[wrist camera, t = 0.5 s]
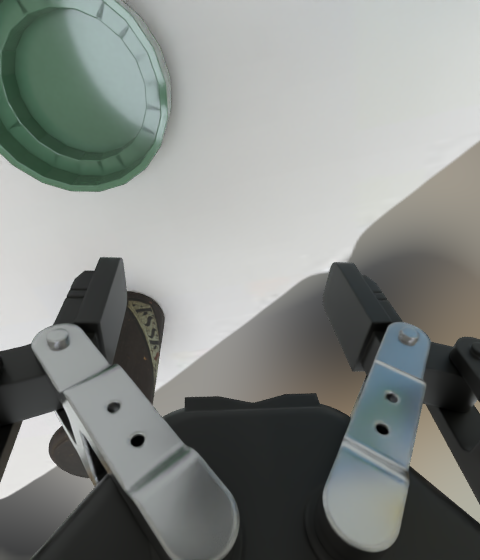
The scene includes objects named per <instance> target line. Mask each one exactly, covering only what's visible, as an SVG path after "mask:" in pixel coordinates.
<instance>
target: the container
mask: <svg viewBox="0 0 480 560" xmlns="http://www.w3.org/2000/svg"><path fill="white" fill-rule="evenodd" d="M163 328H164V314H163V312H162V310H161V308H160V307H159V305H158V304H157V303H156V302H154V301H153V300H152V299H150V298H149V297H147V296H144V295H142V294H138V293H133V292H127V306H126V311H125V315H124V319H123V323H122V327H121V331H120V335H119V339H118V344H117V348H116V352H115V356H114V360H113V364H115V363H117V364H118V365H120V366H121V367H122V368H123V370H124V371H125V372H126V373H127V375H128V376H129V377H130V378H131V379H132V381H133V382H134V383H135V384H136V386H137V387H138V388H139V389H140V390H141V392H142V393H143V394H144V395H145V397H146V398H147V399H148V400H149V402H150V403H151V404H152V405H153V398H154V391H155V385H156V377H157V370H158V363H159V356H160V349H161V342H162V336H163ZM113 364H112V365H113ZM49 454H50V457H51V459H52V460H53V461H54V463H55V464H56V465H57V466H58V467H60V468H61V469H62V470H64V471H66V472H68V473H70V474H73V475H76V476H80V477H85V478H89V476H88V474H87V472H86V470H85V467H84V465H83V463H82V460H81V458H80V456H79V454H78V452H77V450H76V449H75V447H74V445H73V444H72V442H71V440H70V438H69V437H68V435H67V433H66V431H65V430H64V428H63V426H61V427H60V428H59V429H58V430H57V431H56V432H55V434H54V435H53V437H52V438H51V440H50V443H49Z"/></svg>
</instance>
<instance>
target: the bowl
mask: <svg viewBox="0 0 480 560" xmlns="http://www.w3.org/2000/svg"><path fill="white" fill-rule="evenodd" d="M171 106H172V104H171V83H170V75H169V72H168V69H167V66H166V63H165V60H164V57H163V54H162V51H161V48H160V46H159V44H158V43H157V41H156V40H155V38H154V36H153V35H152V33H151V32H150V30H149V29H148V27H147V26H146V24H145V23H144V21H143V20H142V18H141V17H140V16H139V15H138V14H137V13H136V12H134V11H133V10H132V9H131V8H130V7H129V6H128V5H127V4H125V3H124V2H123V1H122V0H0V154H1V155H2V156H4V157H5V158H6V159H7V160H8V161H9V162H10V163H11V164H12V165H14V166H15V167H16V168H18V169H20V170H22V171H23V172H25V173H27V174H28V175H30V176H32V177H33V178H35V179H37V180H39V181H40V182H42V183H45V184H48V185H52V186H55V187H58V188H62V189H65V190H69V191H87V192H99V191H104V190H107V189H110V188H114V187H117V186H120V185H124V184H126V183H127V182H128V181H130V180H131V179H133V178H134V177H135V176H137V175H138V174H139V173H141V172H142V171H143V170H145V169H146V168H147V166H148V165H149V163H150V162H151V160H152V159H153V157H154V156H155V154H156V153H157V151H158V150H159V148H160V146H161V144H162V141H163V137H164V134H165V130H166V127H167V123H168V119H169V115H170V111H171Z"/></svg>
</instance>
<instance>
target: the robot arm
mask: <svg viewBox="0 0 480 560" xmlns="http://www.w3.org/2000/svg"><path fill="white" fill-rule="evenodd" d="M126 306H127V289H126V281H125V272H124V264H123V259H122V258H108V257H101V258H100V259H99V261H98V264H97V266H96V268H95V271H84V272H83V273H82V274H80V275H79V276H78V277H77V278H75V280H74V282H73V284H72V286H71V288H70V290H69V293H68V295H67V298H66V299H65V301H64V303H63V305H62V307H61V310H60V312H59V314H58V316H57V318H56V320H55V322H54V324H53V326H50V327H47V328H45V329H44V330H42V331H40V332H39V333H38V334H37V335H36V336H35V337H34V339H33V341H32V343H31V344H29V345H26V346H22V347H18V348H13V349H9V350H4V351H0V482H1V479H2V476H3V474H4V471H5V468H6V465H7V462H8V460H9V457H10V454H11V451H12V449H13V446H14V443H15V440H16V438H17V435H18V432H19V429H20V427H21V424H22V421H23V420H25V419H29V418H32V417H35V416H39V415H42V414H45V413H49V412H52V411H54V412H55V414H56V416H57V417H58V419H59V421H60V423H61V424H62V426H63V428H64V430H65V431H66V433H67V435H68V437H69V438H70V440H71V442H72V444H73V445H74V447H75V449H76V450H77V452H78V454H79V456H80V458H81V460H82V463H83V465H84V467H85V470H86V472H87V474H88V476H89V478H90V479H91V481H92V483H93V485H94V487H95V488H94V489H93V490H92V491H91V492H90V493H89V494H88V496H87V497H86V498H85V499H84V500H83V501H82V502H81V503H80V504H79V505H78V507H77V508H76V509H75V510H74V511H73V512H72V513H71V514H70V515H69V517H68V518H67V519H66V520H65V521H64V522H63V523H62V525H61V526H60V527H59V528H58V529H57V530H56V531H55V532H54V533H53V535H52V536H51V537H50V538H49V539H48V540H47V541H46V542H45V543H44V544H43V546H42V547H41V548H40V549H39V550H38V551H37V552H36V553H35V554H34V556H33V557H32V558H31V559H30V560H480V524H479V523H478V522H477V521H476V520H475V519H473V518H472V517H471V516H470V515H469V514H467V513H466V512H465V511H464V510H463V509H461V508H460V507H459V506H458V505H456V504H455V503H454V502H453V501H452V500H450V499H449V498H448V497H447V496H446V495H444V494H443V493H442V492H441V491H439V490H438V489H437V488H436V487H435V486H433V485H432V484H431V483H430V482H429V481H427V480H426V479H425V478H424V477H423V476H421V475H420V474H419V473H418V472H416V471H415V470H414V469H413V468H412V467H410V460H411V456H412V451H413V447H414V442H415V437H416V432H417V428H418V423H419V419H420V413H421V409H422V404H426V406H427V408H428V410H429V411H430V413H431V415H432V417H433V419H434V421H435V422H436V424H437V426H438V428H439V430H440V432H441V433H442V435H443V437H444V439H445V441H446V443H447V445H448V447H449V448H450V450H451V452H452V454H453V456H454V458H455V459H456V461H457V463H458V465H459V467H460V469H461V471H462V473H463V474H464V476H465V478H466V480H467V482H468V483H469V486H470V487H471V489H472V491H473V493H474V494H475V497H476V498H477V500H478V502H479V504H480V413H479V412H478V410H477V409H476V407H475V406H474V403H475V402H476V401H477V400H478V401H479V402H480V339H476V338H473V337H462V338H460V339H458V340H457V342H456V344H455V345H454V347H451V346H447V345H443V344H438V343H434V342H431V341H430V339H429V337H428V335H427V334H426V333H425V332H424V331H422V330H421V329H420V328H418V327H416V326H414V325H411V324H409V323H404V322H402V320H401V318H400V317H399V315H398V314H397V313H396V311H395V310H394V308H393V307H392V306H391V304H390V303H389V301H388V300H387V298H386V297H385V295H384V294H383V293H382V291H381V290H380V288H379V287H378V286H377V284H376V283H375V282H374V281H372V280H371V279H370V278H369V277H367V276H365V275H361V273H360V272H359V270H358V269H357V267H356V266H355V264H354V263H342V262H334V263H333V264H332V266H331V268H330V272H329V275H328V279H327V283H326V286H325V290H324V294H323V306H324V309H325V312H326V314H327V316H328V318H329V321H330V323H331V325H332V327H333V329H334V332H335V334H336V336H337V338H338V340H339V343H340V345H341V347H342V349H343V351H344V354H345V356H346V358H347V360H348V363H349V365H350V367H351V369H352V371H365V372H366V374H367V376H366V378H365V380H364V383H363V385H362V387H361V390H360V392H359V395H358V397H357V400H356V402H355V405H354V407H353V410H352V412H351V414H350V417H349V416H348V415H346V414H344V413H342V412H341V411H339V410H337V409H334V408H332V407H329V406H326V405H323V404H320V403H319V400H318V397H317V395H316V393H311V394H284V395H281V396H277V397H274V398H270V399H266V400H263V401H259V402H255V403H251V402H245V401H240V400H234V399H229V398H224V397H216V396H215V397H186V398H185V408H182V409H179V410H176V411H174V412H171V413H169V414H167V415H165V416H164V417H162V416H161V415H160V414H159V413H158V411H157V410H156V409H155V408H154V407H153V405H152V404H151V403H150V402H149V400H148V399H147V398H146V397H145V395H144V394H143V393H142V392H141V390H140V389H139V388H138V387H137V386H136V384H135V383H134V382H133V381H132V379H131V378H130V377H129V376H128V375H127V373H126V372H125V371H124V370H123V368H122V367H121V366H120V365H118V364H117V363H115V364H113V360H114V356H115V352H116V348H117V344H118V339H119V335H120V331H121V327H122V323H123V319H124V315H125V311H126ZM112 364H113V365H112Z"/></svg>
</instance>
